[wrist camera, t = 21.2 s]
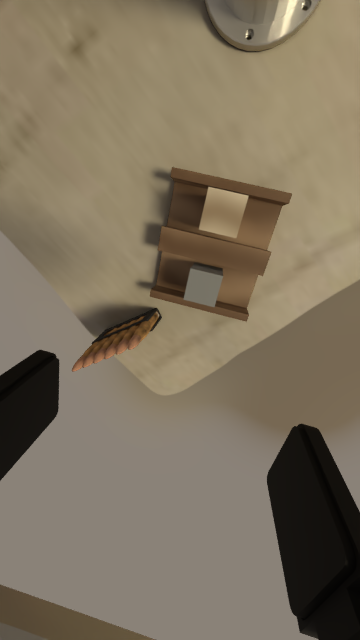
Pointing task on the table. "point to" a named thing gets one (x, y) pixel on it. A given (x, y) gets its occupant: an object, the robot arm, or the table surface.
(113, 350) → the ammunition clip
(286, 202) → the slot rack
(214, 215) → the birch block
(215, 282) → the rubber block
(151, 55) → the table surface
